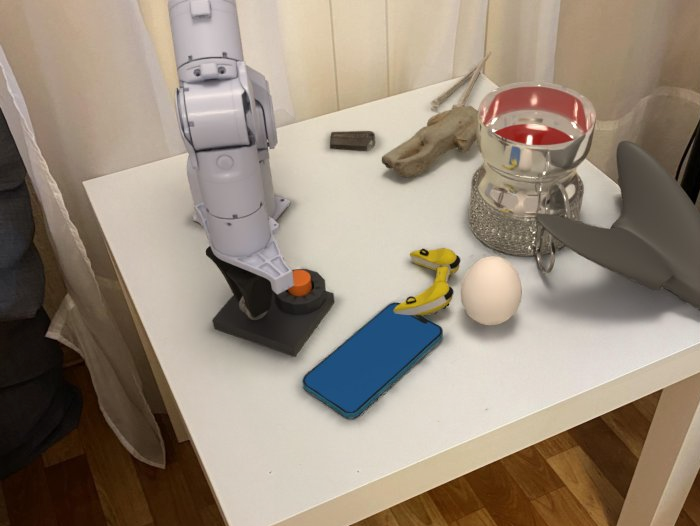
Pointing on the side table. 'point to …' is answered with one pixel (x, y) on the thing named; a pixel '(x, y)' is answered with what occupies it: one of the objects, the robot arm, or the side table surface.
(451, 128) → the sculpture
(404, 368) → the smartphone
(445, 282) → the yellow curved piece
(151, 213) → the side table surface
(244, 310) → the decorative ring
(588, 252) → the propeller
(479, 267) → the egg
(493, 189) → the silver candle holder
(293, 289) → the button
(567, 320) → the side table surface
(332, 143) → the block
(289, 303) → the push button box
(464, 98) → the tweezers
